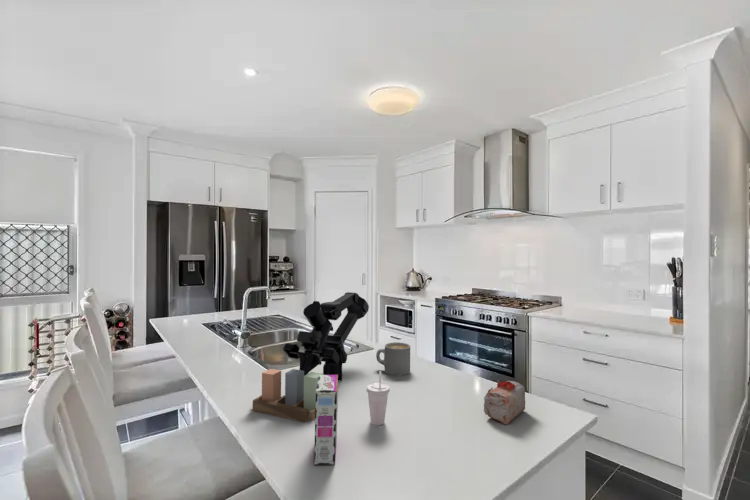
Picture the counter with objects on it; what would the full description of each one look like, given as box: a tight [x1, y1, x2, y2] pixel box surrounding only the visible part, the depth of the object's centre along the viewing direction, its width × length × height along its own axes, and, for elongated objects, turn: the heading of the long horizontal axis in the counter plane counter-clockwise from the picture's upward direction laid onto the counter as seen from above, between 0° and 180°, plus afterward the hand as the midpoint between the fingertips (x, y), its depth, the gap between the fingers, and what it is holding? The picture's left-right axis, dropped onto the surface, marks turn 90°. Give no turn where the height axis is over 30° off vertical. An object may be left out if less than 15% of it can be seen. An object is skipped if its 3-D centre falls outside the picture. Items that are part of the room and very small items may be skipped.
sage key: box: [304, 371, 323, 412], centre depth 107 cm, size 4×4×10 cm
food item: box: [483, 379, 526, 426], centre depth 105 cm, size 14×8×10 cm, turn 137°
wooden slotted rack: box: [252, 394, 315, 423], centre depth 107 cm, size 10×20×3 cm, turn 68°
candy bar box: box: [313, 375, 339, 466], centre depth 85 cm, size 11×5×16 cm, turn 5°
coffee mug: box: [375, 341, 411, 377], centre depth 142 cm, size 13×10×10 cm
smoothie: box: [366, 370, 390, 426], centre depth 99 cm, size 6×6×14 cm
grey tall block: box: [284, 368, 304, 406], centre depth 109 cm, size 4×4×10 cm
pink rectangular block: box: [261, 368, 282, 402], centre depth 109 cm, size 4×4×10 cm
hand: (300, 377), depth 112 cm, fingers closed
